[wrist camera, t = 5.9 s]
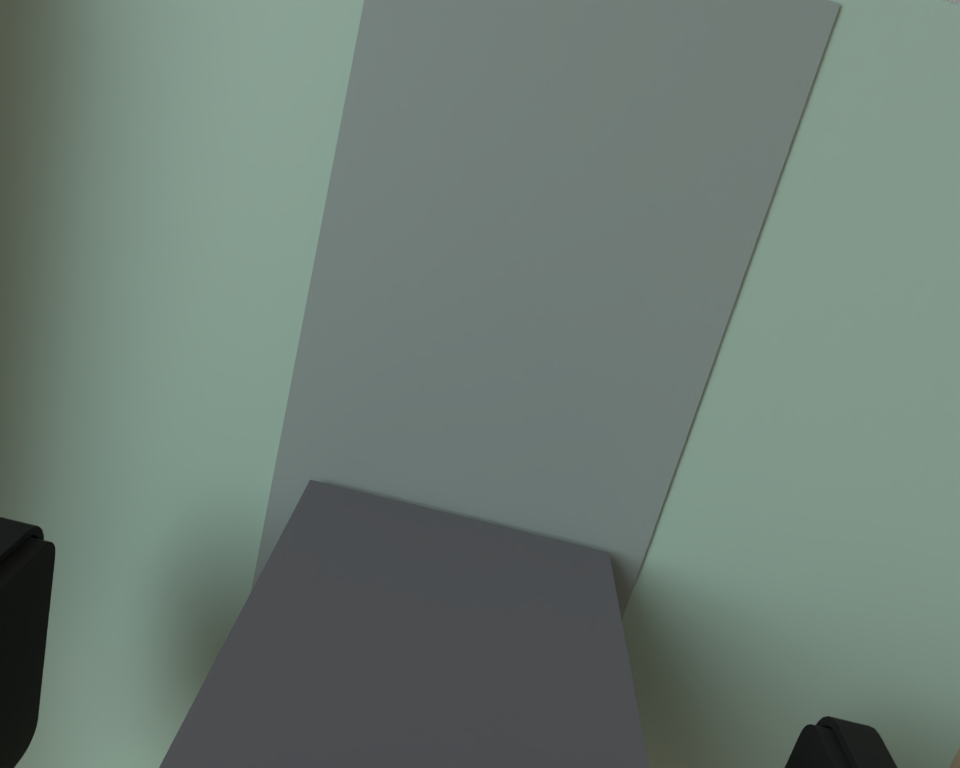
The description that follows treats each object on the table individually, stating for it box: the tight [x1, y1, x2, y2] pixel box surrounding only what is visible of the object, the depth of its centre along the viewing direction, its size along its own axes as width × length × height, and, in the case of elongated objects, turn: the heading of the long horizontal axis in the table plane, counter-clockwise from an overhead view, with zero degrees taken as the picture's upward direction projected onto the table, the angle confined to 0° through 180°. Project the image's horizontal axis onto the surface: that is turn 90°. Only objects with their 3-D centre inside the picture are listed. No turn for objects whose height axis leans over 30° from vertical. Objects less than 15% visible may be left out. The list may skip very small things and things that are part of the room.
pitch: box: [0, 0, 960, 768], centre depth 12 cm, size 17×20×3 cm
